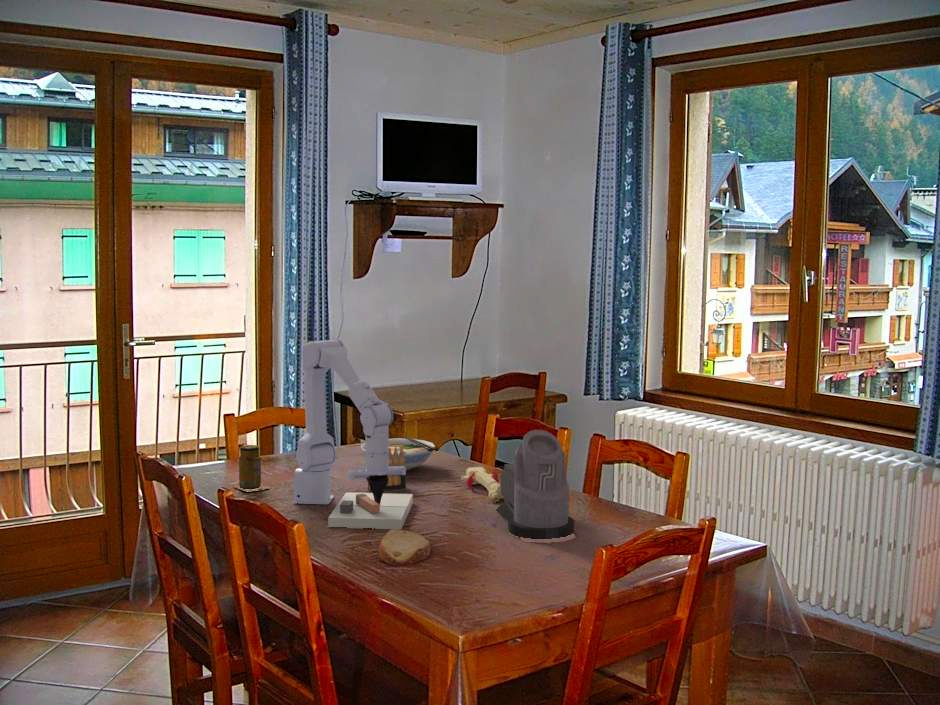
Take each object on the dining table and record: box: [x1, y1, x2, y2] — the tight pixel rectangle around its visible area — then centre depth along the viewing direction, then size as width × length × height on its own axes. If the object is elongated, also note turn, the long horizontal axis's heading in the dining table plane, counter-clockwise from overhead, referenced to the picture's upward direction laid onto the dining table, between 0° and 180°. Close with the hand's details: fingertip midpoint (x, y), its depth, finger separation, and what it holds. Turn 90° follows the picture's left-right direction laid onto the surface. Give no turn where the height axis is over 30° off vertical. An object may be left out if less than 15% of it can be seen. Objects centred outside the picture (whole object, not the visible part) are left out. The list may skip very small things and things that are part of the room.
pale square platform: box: [327, 492, 414, 530], centre depth 257 cm, size 18×24×5 cm
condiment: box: [238, 444, 262, 489], centre depth 282 cm, size 7×8×12 cm
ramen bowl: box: [360, 435, 439, 472], centre depth 307 cm, size 25×23×8 cm
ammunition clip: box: [367, 446, 406, 492], centre depth 283 cm, size 11×2×12 cm, turn 114°
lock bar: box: [356, 494, 380, 513], centre depth 255 cm, size 12×3×2 cm, turn 27°
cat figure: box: [460, 466, 507, 504], centre depth 282 cm, size 10×9×25 cm
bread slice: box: [377, 529, 431, 567], centre depth 229 cm, size 18×18×4 cm
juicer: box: [495, 429, 575, 539], centre depth 249 cm, size 30×16×24 cm, turn 14°
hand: (377, 504), depth 253 cm, fingers closed
